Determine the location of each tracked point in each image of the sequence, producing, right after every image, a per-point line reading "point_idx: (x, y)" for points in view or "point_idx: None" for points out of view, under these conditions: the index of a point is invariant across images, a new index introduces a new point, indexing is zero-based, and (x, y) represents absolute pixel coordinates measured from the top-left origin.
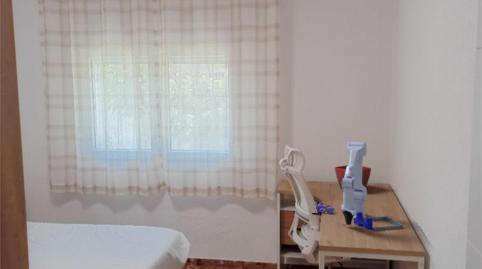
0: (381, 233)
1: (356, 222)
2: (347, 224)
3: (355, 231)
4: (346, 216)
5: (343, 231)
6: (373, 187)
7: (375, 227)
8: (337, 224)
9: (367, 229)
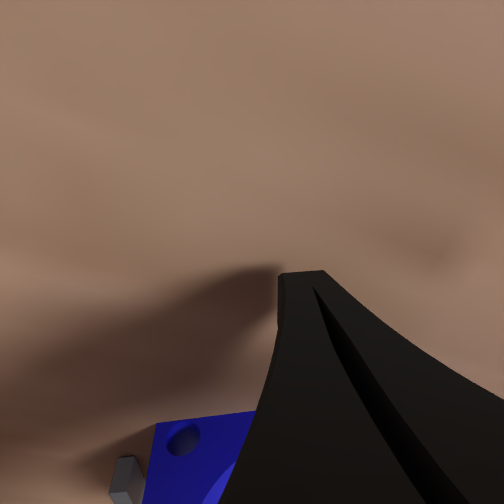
0: (28, 482)
1: None
2: (278, 280)
3: (70, 299)
4: (245, 445)
5: (46, 97)
6: None
7: (118, 502)
8: (486, 140)
9: (157, 424)
